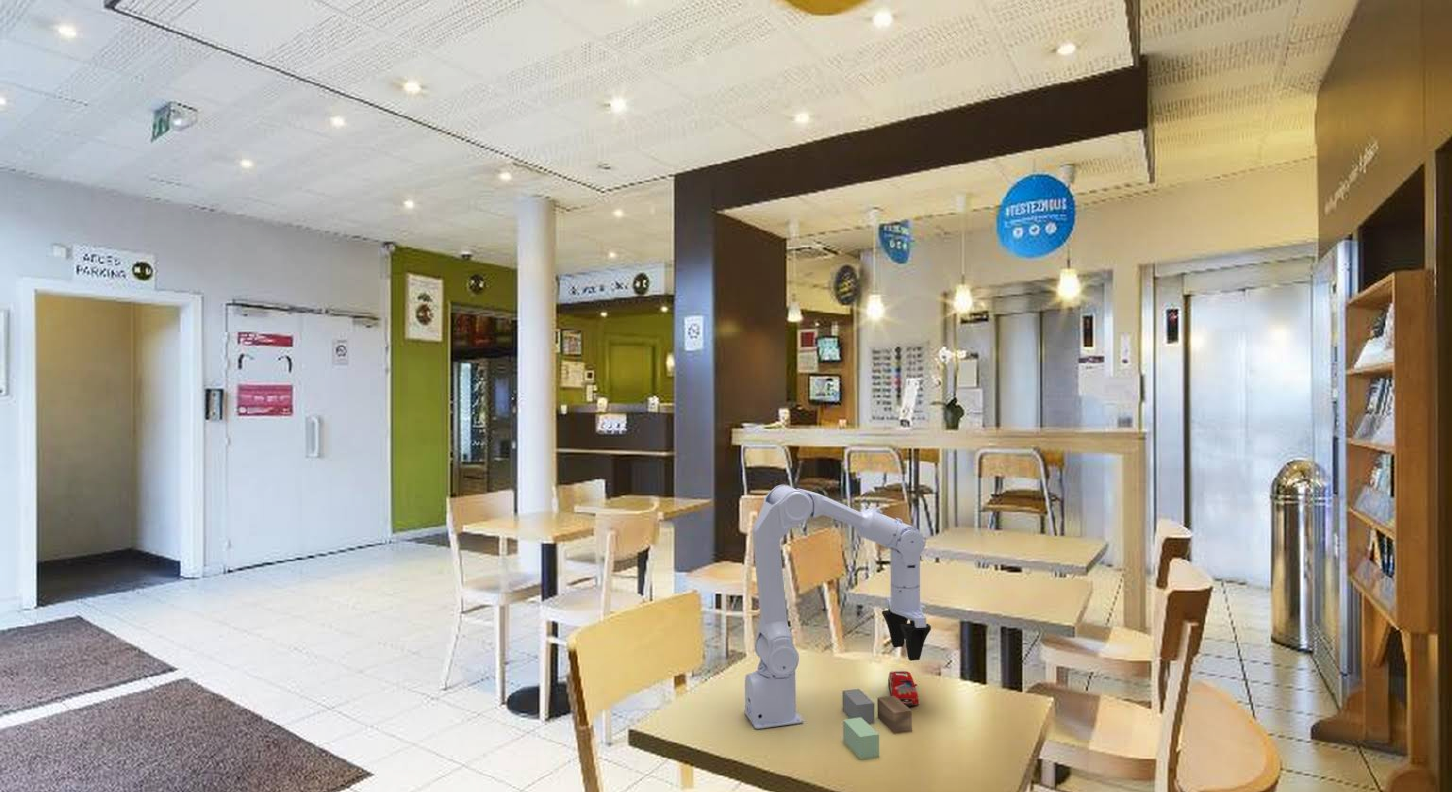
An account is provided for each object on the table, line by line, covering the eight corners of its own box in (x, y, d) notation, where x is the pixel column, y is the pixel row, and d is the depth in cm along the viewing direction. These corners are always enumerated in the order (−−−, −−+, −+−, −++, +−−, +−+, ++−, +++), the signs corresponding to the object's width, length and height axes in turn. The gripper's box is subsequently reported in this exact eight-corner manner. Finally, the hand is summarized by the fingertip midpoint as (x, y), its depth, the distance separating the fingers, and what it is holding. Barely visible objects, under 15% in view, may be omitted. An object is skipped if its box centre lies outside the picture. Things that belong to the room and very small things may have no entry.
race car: (920, 710, 148) (920, 690, 148) (891, 709, 148) (891, 689, 148) (913, 684, 161) (913, 665, 161) (887, 683, 162) (887, 664, 161)
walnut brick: (894, 734, 137) (893, 712, 137) (877, 718, 144) (877, 697, 144) (911, 732, 138) (911, 710, 138) (894, 716, 145) (894, 695, 145)
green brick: (860, 760, 128) (859, 737, 128) (843, 742, 135) (843, 719, 135) (879, 757, 129) (878, 734, 129) (861, 739, 136) (861, 717, 136)
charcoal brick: (857, 726, 141) (856, 705, 141) (842, 710, 148) (842, 690, 148) (874, 724, 142) (874, 703, 142) (859, 708, 148) (859, 688, 148)
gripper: (940, 593, 144) (941, 664, 144) (908, 574, 158) (909, 639, 158) (906, 595, 143) (906, 667, 143) (876, 576, 157) (877, 642, 157)
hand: (905, 652), depth 150 cm, fingers open, 7 cm apart
